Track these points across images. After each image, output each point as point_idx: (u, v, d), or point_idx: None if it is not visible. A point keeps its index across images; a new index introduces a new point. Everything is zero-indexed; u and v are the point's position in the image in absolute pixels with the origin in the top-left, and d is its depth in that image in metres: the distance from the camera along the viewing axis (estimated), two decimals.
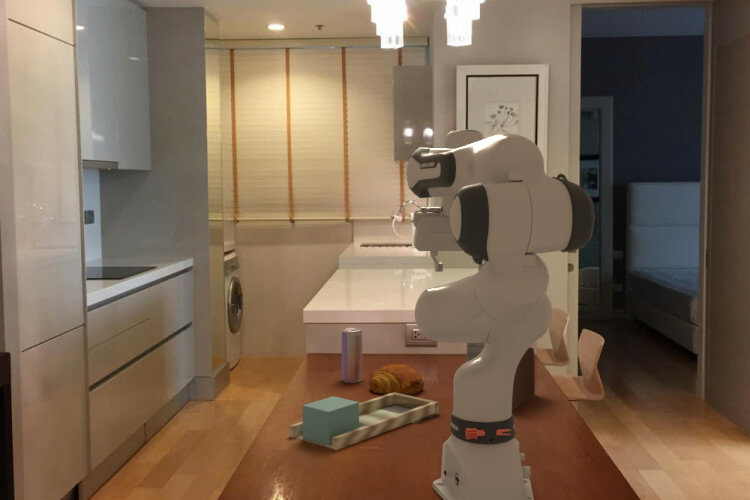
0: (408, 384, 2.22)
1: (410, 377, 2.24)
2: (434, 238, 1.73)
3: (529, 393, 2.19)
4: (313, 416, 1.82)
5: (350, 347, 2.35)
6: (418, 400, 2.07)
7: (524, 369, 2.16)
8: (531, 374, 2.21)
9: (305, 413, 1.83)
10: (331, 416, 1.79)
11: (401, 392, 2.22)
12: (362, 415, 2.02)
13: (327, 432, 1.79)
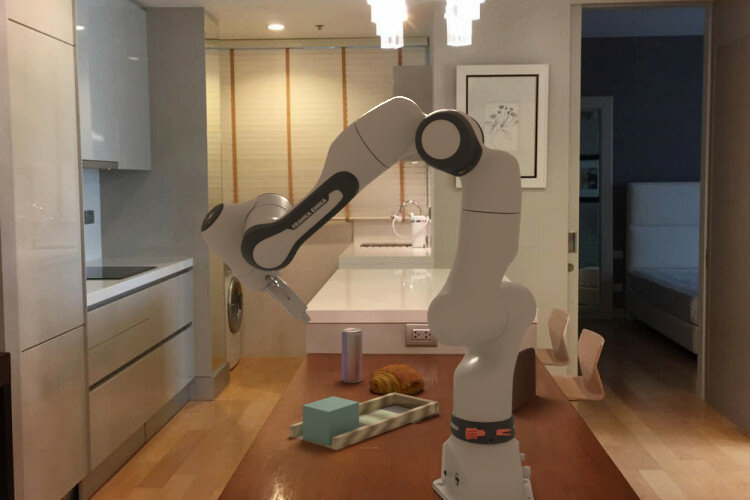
0: (408, 384, 2.22)
1: (410, 377, 2.24)
2: None
3: (530, 393, 2.19)
4: (313, 416, 1.82)
5: (350, 347, 2.35)
6: (418, 400, 2.07)
7: (525, 369, 2.16)
8: (532, 374, 2.21)
9: (305, 413, 1.83)
10: (331, 416, 1.79)
11: (401, 392, 2.22)
12: (362, 415, 2.02)
13: (327, 432, 1.79)
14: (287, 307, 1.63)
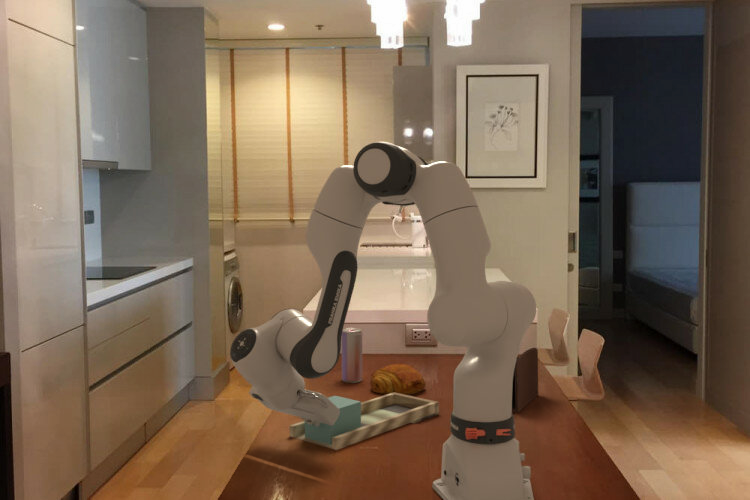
0: (409, 384, 2.22)
1: (411, 377, 2.24)
2: None
3: (533, 393, 2.19)
4: None
5: (350, 346, 2.35)
6: (418, 400, 2.07)
7: (529, 369, 2.15)
8: (535, 374, 2.20)
9: None
10: None
11: (402, 392, 2.22)
12: (362, 415, 2.02)
13: (329, 431, 1.80)
14: (326, 416, 1.70)
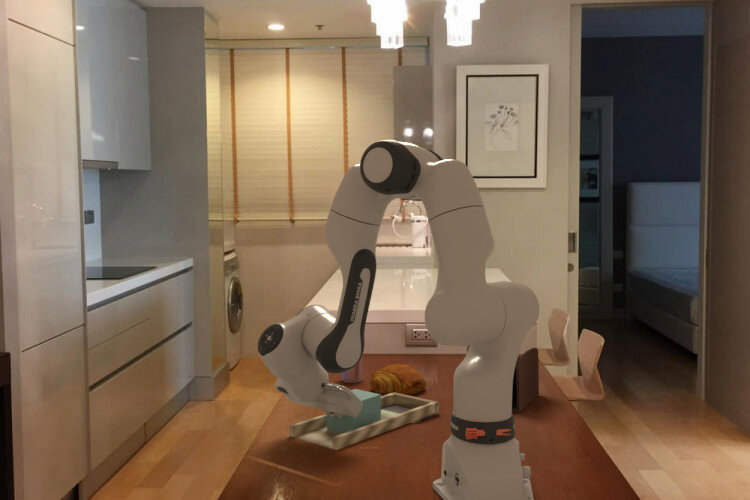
0: (409, 384, 2.22)
1: (411, 377, 2.24)
2: None
3: (534, 393, 2.19)
4: None
5: None
6: (418, 400, 2.07)
7: (530, 369, 2.15)
8: (536, 374, 2.20)
9: None
10: None
11: (402, 392, 2.22)
12: None
13: (351, 423, 1.86)
14: (350, 408, 1.75)
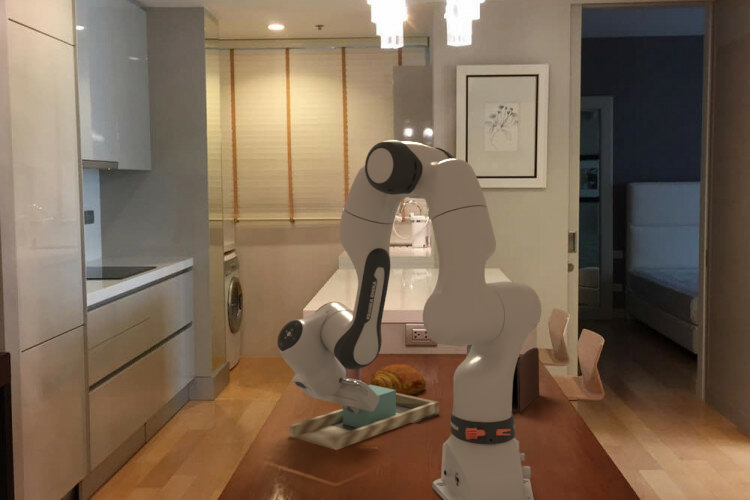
0: (410, 384, 2.22)
1: (412, 377, 2.24)
2: None
3: (534, 393, 2.19)
4: None
5: None
6: (418, 400, 2.07)
7: (531, 369, 2.15)
8: (536, 374, 2.20)
9: None
10: None
11: (403, 392, 2.22)
12: None
13: (367, 418, 1.90)
14: (367, 402, 1.80)
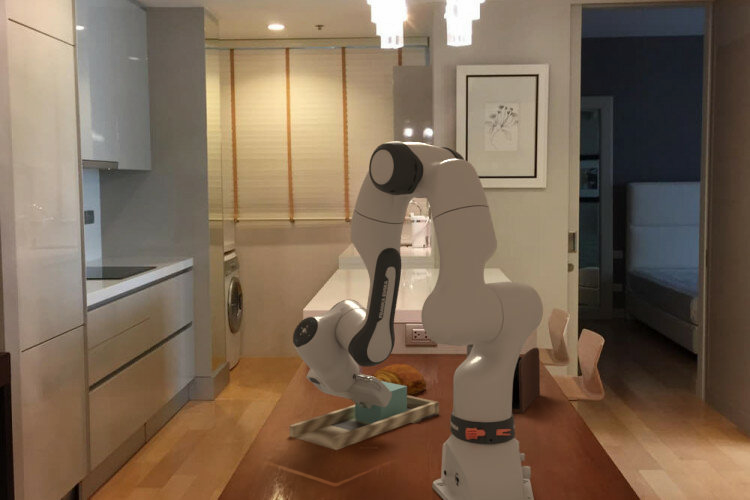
0: (410, 384, 2.22)
1: (412, 377, 2.24)
2: None
3: (535, 393, 2.19)
4: None
5: None
6: (418, 400, 2.07)
7: (532, 369, 2.15)
8: (537, 374, 2.20)
9: None
10: None
11: None
12: None
13: (379, 413, 1.93)
14: (380, 398, 1.83)
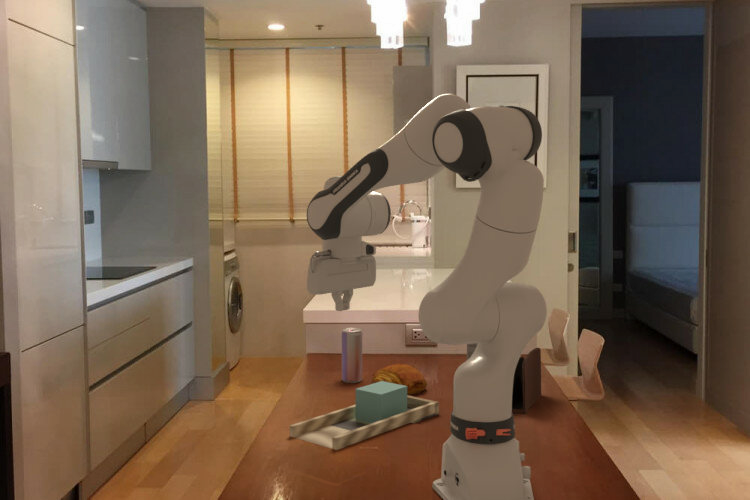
0: (410, 384, 2.22)
1: (412, 377, 2.23)
2: (330, 280, 1.78)
3: (537, 393, 2.19)
4: (365, 399, 1.96)
5: (350, 346, 2.35)
6: (418, 400, 2.07)
7: (534, 369, 2.15)
8: (538, 374, 2.20)
9: (358, 396, 1.97)
10: (383, 398, 1.94)
11: None
12: None
13: (380, 413, 1.93)
14: (307, 276, 1.77)
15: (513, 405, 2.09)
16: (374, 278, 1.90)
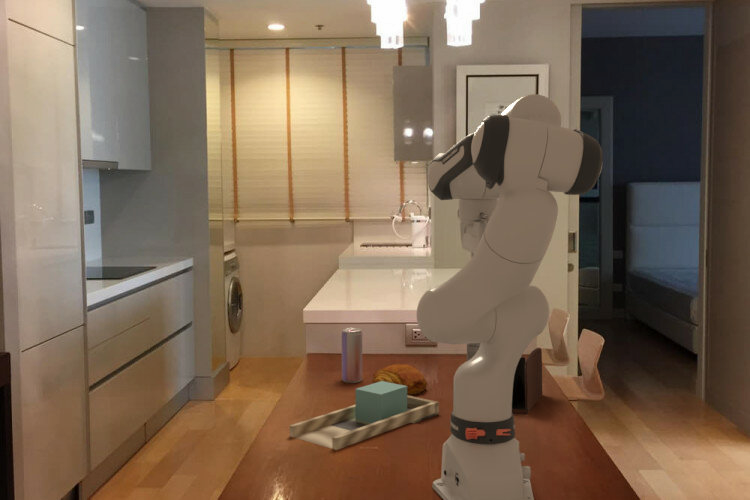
0: (411, 384, 2.22)
1: (413, 377, 2.23)
2: None
3: (538, 393, 2.19)
4: (365, 399, 1.96)
5: (350, 346, 2.35)
6: (418, 400, 2.07)
7: (535, 369, 2.15)
8: (540, 374, 2.20)
9: (358, 396, 1.97)
10: (383, 398, 1.94)
11: None
12: None
13: (380, 413, 1.93)
14: (480, 239, 1.77)
15: (515, 405, 2.09)
16: None
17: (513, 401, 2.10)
